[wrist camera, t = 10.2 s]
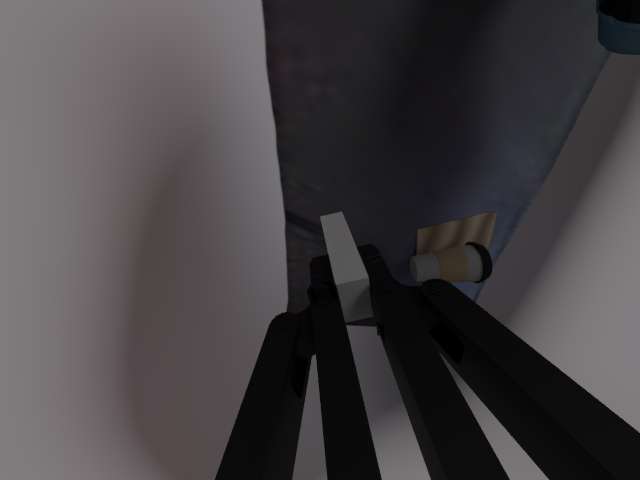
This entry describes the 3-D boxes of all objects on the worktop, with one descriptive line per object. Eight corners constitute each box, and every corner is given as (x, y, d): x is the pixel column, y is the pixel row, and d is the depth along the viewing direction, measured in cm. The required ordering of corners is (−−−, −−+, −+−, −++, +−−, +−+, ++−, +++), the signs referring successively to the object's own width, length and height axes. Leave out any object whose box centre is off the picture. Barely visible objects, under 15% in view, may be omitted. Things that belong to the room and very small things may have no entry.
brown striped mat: (495, 211, 52) (497, 212, 52) (482, 264, 61) (483, 265, 60) (417, 229, 53) (418, 230, 52) (415, 279, 62) (416, 280, 61)
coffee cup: (416, 296, 54) (484, 290, 52) (421, 273, 48) (500, 265, 46) (406, 264, 61) (466, 257, 59) (409, 240, 54) (478, 232, 52)
